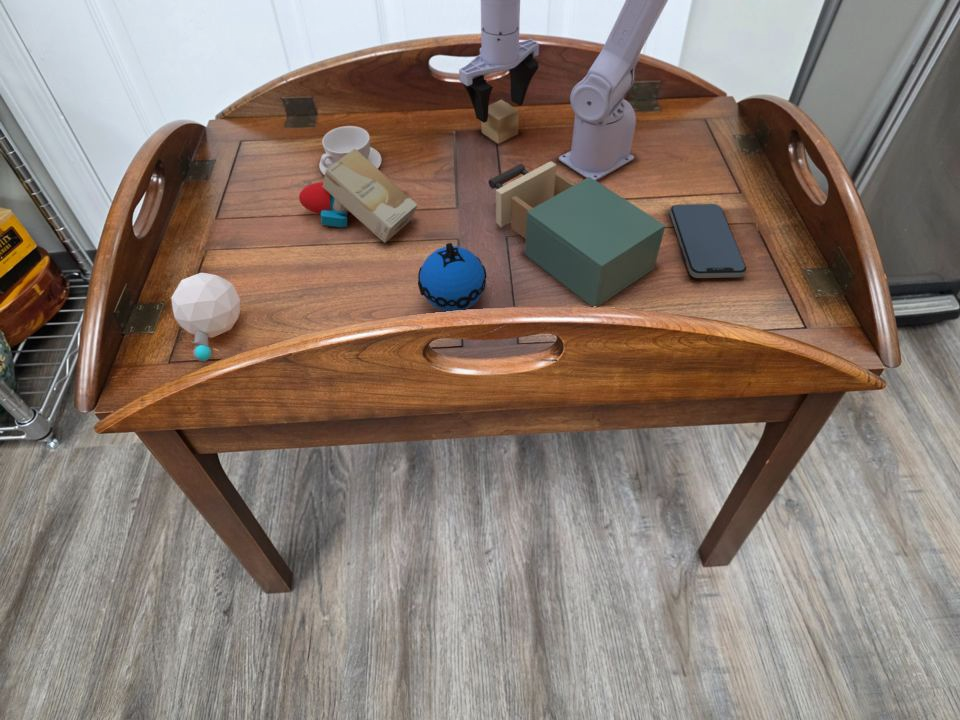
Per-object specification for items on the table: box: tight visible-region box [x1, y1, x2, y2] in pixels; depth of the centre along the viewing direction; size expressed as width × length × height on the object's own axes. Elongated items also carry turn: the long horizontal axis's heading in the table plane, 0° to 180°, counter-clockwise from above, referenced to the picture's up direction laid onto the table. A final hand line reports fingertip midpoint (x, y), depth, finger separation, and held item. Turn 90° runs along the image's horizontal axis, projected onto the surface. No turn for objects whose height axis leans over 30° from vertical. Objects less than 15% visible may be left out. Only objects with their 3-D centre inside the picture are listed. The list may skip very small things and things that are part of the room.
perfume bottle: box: [170, 272, 241, 362], centre depth 80 cm, size 8×8×12 cm
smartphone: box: [669, 203, 747, 279], centre depth 91 cm, size 8×2×15 cm
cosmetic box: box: [322, 149, 418, 244], centre depth 92 cm, size 6×4×12 cm
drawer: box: [487, 160, 577, 240], centre depth 91 cm, size 17×10×6 cm, turn 39°
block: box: [480, 99, 520, 145], centre depth 108 cm, size 4×4×4 cm
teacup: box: [318, 125, 382, 176], centre depth 103 cm, size 10×10×5 cm
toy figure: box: [298, 181, 351, 228], centre depth 96 cm, size 8×5×15 cm
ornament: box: [417, 242, 487, 312], centre depth 81 cm, size 9×9×10 cm
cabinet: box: [524, 177, 666, 307], centre depth 87 cm, size 14×12×8 cm
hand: (499, 111), depth 106 cm, fingers open, 7 cm apart
